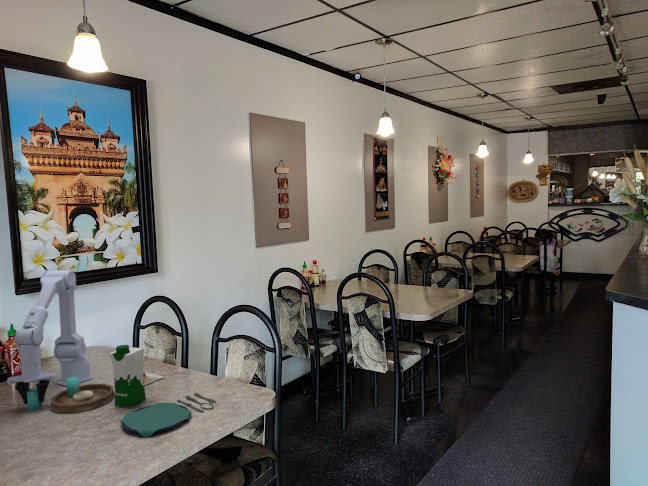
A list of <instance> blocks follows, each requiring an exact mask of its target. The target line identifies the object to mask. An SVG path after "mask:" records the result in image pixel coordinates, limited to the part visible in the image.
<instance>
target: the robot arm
mask: <svg viewBox="0 0 648 486" xmlns="http://www.w3.org/2000/svg"><path fill="white" fill-rule="evenodd" d="M40 276H41V277H40V285H41V289H40V292H39V296H38V298H37V301H36V305H35V306H34V307H32V308H30V310H29V312H28V314H27V316H26V319H25V321H24V323H23V326H22V327H20V329H18V330H16V332H15V334H14V339H13V340H14V343H15V344H16V346H17V351H18V352H19V355H20V356H19V357H20V367H21V368H20V369H21V375H16V376H10V377H8V378H7V385H12V384H15V386H14V388H15V390H16V391H17V393H18V394H19V395H20V397H21V398H22V402H23V404H24V405H25V406H26V405H27V393H26V391H27V390H29V389H30V383H36V382H37V383H36V384H35V388H37V390H38V395H39V404H40V403H42V404H43V403H44V402H45V397H46V392H47V390H48V387H49V385H50V383H51V382H55V381H56V380H57V379H58V373H50V372H49V373H46V372H43V369H42V367H43V366H42V355H41V345H40V344H41V343H42V341H43V340H44V330H45V328H44V326H45V324H46V322H47V320H48V317H49V312H48V308H49V306H50V305H51V303H52V300H53V299H54V298H55V295H56V293H57V295H58V303H59V304H58V307H59V324H60V325H59V326H60V335H59V336H58V337H57V338H56V339H55V341H54V348H53V355H54V357H55V359H57V361H58V362H59V364H60V365H59V366H60V377H61V380H59V381H56V384H58V385H62V386H65V387H66V379H67V378H70V377H79V384H80V383H82V382H85V381H88V380H91V379H92V377H91V369H90V360H89V358H88V357H87V356H86V353H87V352H86V351H87V345H86V343H85V338H84V336H82V335H80V334H78V333H77V327H76V325H77V324H76V322H77V321H76V304H75V303H76V302H75V291H76V290H77V277H76V273H75V272H74V271H73V270H72V269H66V270H65V269H64V270H63V269H62V270H44V271H43V272H42V274H41V275H40ZM27 406H28V405H27Z"/></svg>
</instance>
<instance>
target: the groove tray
mask: <svg viewBox="0 0 648 486" xmlns="http://www.w3.org/2000/svg"><path fill="white" fill-rule="evenodd" d="M79 388H80V392H78V393H76V394H74V395H73V397H72V398H69V397H67V389H65V390H61V391H59V392H58V393H56V394H55V395H53V396H52V397H51V400H50V411H52V412H54V413H56V414H64V415H65V414H66V415H67V414H69V415H70V414H77V413H84V412H88V411H92V410H96V409H98V408H101V407H103V406H105V405H108V404H109V403H111V401H113V399H114V400H115V389H114V386H113V385H111V384H106V383H88V384H83V385H82V384H81V385H79Z"/></svg>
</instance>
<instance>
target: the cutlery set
mask: <svg viewBox="0 0 648 486" xmlns="http://www.w3.org/2000/svg"><path fill="white" fill-rule="evenodd" d="M193 394H194V395H193V396H196V397H197V398H200V399H202V400H204V399H205V401H206V402H202V403H201V401H198V400H197V399H196V398H193V396H192V397H191V396H190V395H185V399H188V400H191V401H193V402H194V403H197V404H199V406H200V407H201V405H202V407H201V408H202V409H201V408H199V407H196V406H194V405H192V403H190V402H186V401H183V400H180V399H177V402H180V403H182V404H184V405H185V406H184V405H182V404H177V403H175V402H156V403H154V404H152V405H146V406H143V407H140V408H137V409H134V411H133V410H132V411H130V412H127V413H126V414H125V415H124V416H123V417H122V418H121V420H119V422H120V423H121V427H122V428H123V429H124V430H126V431H129V432H132V433H138V434H139V435H140V436H142V437H143V438H150V437H151V436H152V435H153V434H155V433H156V432H158V433H159V432H165V431H167V430H170V429H174V428H175V427H177V426H179V425H182V424H183V423H184V422H185V421H189V420H190V417H191V416H192V411H191V410H190V409H189V408H191V409H192V410H194V411H197V412H199V413H204V412H205V410H210V409H211V410H212V409H213V408H214V405H213V404H214V403H216V402H218V401H217V400H215V399H214V398H213V399H212V398H207V397H205V396H203V395H202V394H200V393H198V392H194V393H193ZM207 401H208V402H207ZM211 403H212V404H211ZM203 404H209V405H208V406H210V405H211V406H212V408H211V406H210V408H209V407H203V406H204V405H203ZM204 409H205V410H204Z"/></svg>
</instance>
